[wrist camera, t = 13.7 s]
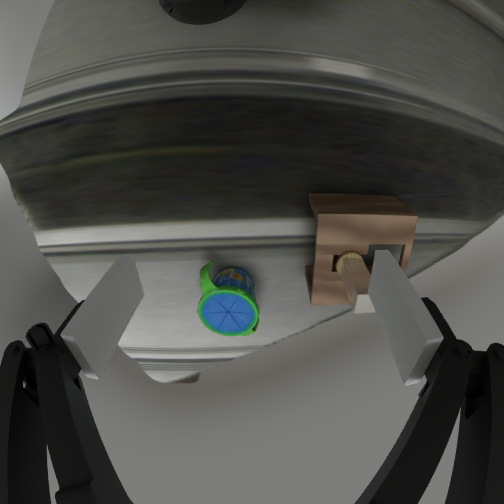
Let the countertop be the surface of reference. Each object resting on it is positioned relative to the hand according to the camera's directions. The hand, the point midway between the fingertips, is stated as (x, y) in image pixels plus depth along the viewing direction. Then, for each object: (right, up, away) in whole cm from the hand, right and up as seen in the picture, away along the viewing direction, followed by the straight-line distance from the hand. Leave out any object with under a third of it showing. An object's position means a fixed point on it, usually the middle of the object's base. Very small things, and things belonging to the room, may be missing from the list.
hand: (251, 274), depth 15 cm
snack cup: (-4, -5, +42) cm, 43 cm away
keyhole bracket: (+18, +4, +36) cm, 40 cm away
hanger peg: (+15, +3, +33) cm, 37 cm away
